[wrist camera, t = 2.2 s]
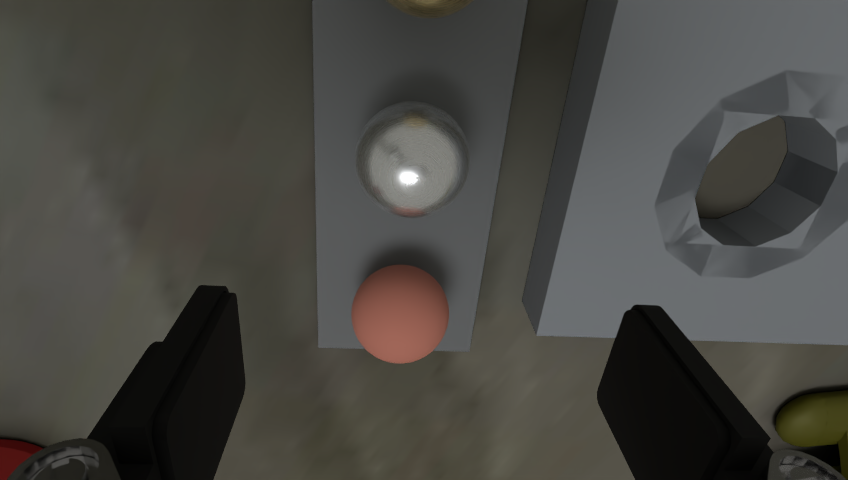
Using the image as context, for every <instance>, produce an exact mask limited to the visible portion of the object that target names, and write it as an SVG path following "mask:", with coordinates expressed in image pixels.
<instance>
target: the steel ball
mask: <svg viewBox="0 0 848 480" xmlns="http://www.w3.org/2000/svg"><path fill="white" fill-rule="evenodd" d="M469 167H470V152H469V147H468V143H467V140H466V137H465V135H464V133H463V131H462V129H461V128H460V126H459V125H458V124H457V122H456V121H455V120H454V119H453V118H452V117H451V116H450V115H449V114H447V113H446V112H445V111H443V110H442V109H440V108H438V107H436V106H434V105H431V104H428V103H424V102H417V101H407V102H400V103H397V104H393V105H391V106H388V107H386V108H385V109H383V110H381V111H379V112H378V113H377V114H376V115H374V116H373V117H372V118H371V119H370V120H369V121H368V123H367V124H366V125H365V127H364V128H363V130H362V132H361V134H360V136H359V139H358V141H357V145H356V149H355V169H356V174H357V177H358V180H359V183H360V185H361V187H362V189H363V191H364V192H365V194H366V195H367V196H368V197H369V198H370V200H371V201H372V202H374V203H375V204H376V205H377V206H378V207H380V208H381V209H382V210H384V211H386V212H388V213H390V214H393V215H396V216H400V217H405V218H420V217H425V216H429V215H432V214H435V213H437V212H439V211H441V210H443V209H444V208H446V207H447V206H448V205H449V204H451V203H452V202H453V201H454V200H455V198H456V197H457V196H458V195H459V193H460V192H461V190H462V189H463V187H464V185H465V183H466V180H467V177H468V173H469Z"/></svg>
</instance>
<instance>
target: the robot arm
mask: <svg viewBox="0 0 848 480" xmlns="http://www.w3.org/2000/svg"><path fill="white" fill-rule="evenodd" d="M244 391H245V373H244V363H243V354H242V344H241V334H240V325H239V315H238V305H237V297H236V294H235V293H229V292H228V289H227V287H226V286H207V285H200V286H199V287H198V288H197V289H196V291H195V292H194V294H193V295H192V297H191V298H190V300H189V302H188V303H187V305H186V306H185V308H184V309H183V311H182V312H181V314H180V316H179V317H178V319H177V320H176V322H175V323H174V325H173V327H172V328H171V330H170V331H169V333H168V334H167V336H166V337H165V339H164V341H163V342H154V343H152V344H151V345H150V346H149V347H148V348H147V350H146V351H145V353H144V354H143V356H142V357H141V359H140V360H139V362H138V363H137V365H136V366H135V368H134V369H133V371H132V372H131V374H130V375H129V377H128V378H127V380H126V381H125V383H124V384H123V386H122V387H121V389H120V390H119V392H118V393H117V394H116V396H115V397H114V399H113V400H112V402H111V403H110V405H109V406H108V408H107V409H106V411H105V412H104V414H103V415H102V417H101V418H100V420H99V421H98V423H97V424H96V426H95V427H94V429H93V430H92V432H91V433H90V435H89V436H88V438H87V439H82V438H78V439H72V440H65V441H62V442H59V443H56V444H53V445H50V446H48V447H46V448H44V449H42V450H40V451H38V452H36V453H35V454H33V455H31V456H30V457H29V458H28V459H26V460H25V461H24V462H22V463H21V464H20V465H19V466H18V467H17V468H16V469H15V470H14V471H13V472H12V474H11V475H10V476H9V477H8V479H7V480H213V479H214V476H215V473H216V470H217V468H218V465H219V462H220V459H221V457H222V454H223V451H224V448H225V446H226V443H227V440H228V437H229V434H230V432H231V429H232V426H233V423H234V421H235V418H236V415H237V412H238V410H239V407H240V404H241V401H242V399H243V395H244ZM597 400H598V404H599V406H600V408H601V410H602V412H603V415H604V417H605V419H606V421H607V423H608V425H609V427H610V429H611V431H612V433H613V435H614V437H615V439H616V441H617V443H618V445H619V447H620V449H621V451H622V453H623V455H624V457H625V459H626V462H627V464H628V466H629V468H630V470H631V472H632V474H633V476H634V478H635V480H846V479H845V478H844V477H843V476H842V475H841V474H840V473H839V472H838V471H836V470H835V469H834V468H832V467H831V466H830V465H828V464H826V463H825V462H823V461H821V460H819V459H818V458H816V457H814V456H811V455H809V454H806V453H803V452H800V451H795V450H790V449H786V450H778V451H777V452H775V453H774V452H773V451H772V450H771V449H770V447H769V446H768V445H767V444H768V442H769V440H770V439H771V438H770V437H769V436H768V435H767V433H766V432H765V431H764V430H763V429H762V427H761V426H760V425H759V424H758V423H757V421H756V420H755V419H754V418H753V417H752V415H751V414H750V413H749V412H748V411H747V409H746V408H745V407H744V406H743V404H742V403H741V402H740V401H739V400H738V398H737V397H736V396H735V395H734V394H733V392H732V391H731V390H730V389H729V388H728V386H727V385H726V384H725V383H724V382H723V380H722V379H721V378H720V377H719V376H718V374H717V373H716V372H715V371H714V370H713V368H712V367H711V366H710V365H709V364H708V362H707V361H706V360H705V359H704V358H703V356H702V355H701V354H700V353H699V352H698V350H697V349H696V348H695V347H694V345H693V344H692V343H691V342H690V341H689V339H688V338H687V337H686V336H685V335H684V333H683V332H682V331H681V330H680V329H679V327H678V326H677V325H676V324H675V323H674V321H673V320H672V319H671V318H670V317H669V315H668V314H667V313H666V312H665V311H664V309H663V308H662V307H660V306H658V305H638V304H636V305H634V306H633V307H632V308H631V310H627V311H626V312H625V313H624V315H623V318H622V321H621V324H620V327H619V329H618V332H617V335H616V338H615V341H614V344H613V347H612V350H611V353H610V356H609V358H608V361H607V364H606V367H605V370H604V373H603V376H602V379H601V382H600V384H599V387H598V391H597Z"/></svg>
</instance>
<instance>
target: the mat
mask: <svg viewBox="0 0 848 480" xmlns="http://www.w3.org/2000/svg"><path fill="white" fill-rule="evenodd" d="M527 3H528V0H474V1H472V2H471V3H470V4H469V5H467V6H466V7H465V8H463V9H461V10H460V11H458V12H456V13H453V14H451V15H448V16H445V17H440V18H419V17H414V16H411V15H408V14H405V13H403V12H401V11H399V10H398V9H396V8H394V7H393V6H391V5H390V4H389V3H388V2H387V1H386V0H312V22H313V78H314V134H315V189H316V245H317V301H318V348H354V349H365V348H364V347H363V345H362V344H361V343H360V342H359V340H358V338H357V336H356V334H355V332H354V329H353V324H352V318H351V311H352V304H353V300H354V297H355V295H356V292H357V290H358V289H359V287H360V285H361V284H362V283H363V282H364V281H365V280H366V278H368V277H369V276H370V275H371V274H373V273H374V272H376V271H378V270H379V269H381V268H384V267H387V266H391V265H410V266H414V267H417V268H419V269H422V270H424V271H425V272H427V273H429V274H430V275H431V276H432V277H433V278H434V279H435V280H436V281H437V282H438V283H439V284H440V286H441V287H442V289H443V291H444V293H445V295H446V298H447V301H448V306H449V321H448V326H447V329H446V332H445V335H444V337H443V338H442V340H441V342H440V343H439V344H438V346H437V347H436V348H435V349H434V350H433V351H463V352H469V350H470V344H471V338H472V332H473V326H474V320H475V314H476V308H477V302H478V296H479V290H480V284H481V278H482V273H483V267H484V261H485V255H486V249H487V243H488V237H489V231H490V225H491V219H492V213H493V207H494V201H495V195H496V189H497V183H498V177H499V171H500V165H501V159H502V153H503V147H504V141H505V135H506V129H507V123H508V117H509V111H510V105H511V99H512V93H513V87H514V81H515V75H516V69H517V63H518V57H519V51H520V45H521V39H522V33H523V27H524V21H525V15H526V9H527ZM407 101H417V102H424V103H428V104H431V105H434V106H436V107H438V108H440V109H442V110H443V111H445V112H446V113H447V114H449V115H450V116H451V117H452V118H453V119H454V120H455V121H456V122H457V124H458V125H459V126H460V128H461V129H462V131H463V133H464V135H465V137H466V140H467V143H468V147H469V152H470V167H469V173H468V177H467V180H466V183H465V185H464V187H463V189H462V190H461V192H460V193H459V195H458V196H457V197H456V198H455V200H454V201H453V202H452V203H451V204H449V205H448V206H447V207H446V208H444V209H443V210H441V211H439V212H437V213H435V214H432V215H429V216H425V217H420V218H405V217H400V216H396V215H393V214H390V213H388V212H386V211H384V210H382V209H381V208H380V207H378V206H377V205H376V204H375V203H374V202H372V201H371V200H370V198H369V197H368V196H367V195H366V194H365V192H364V191H363V189H362V187H361V185H360V183H359V180H358V177H357V174H356V169H355V149H356V145H357V141H358V139H359V136H360V134H361V132H362V130H363V128H364V127H365V125H366V124H367V123H368V121H369V120H370V119H371V118H372V117H373V116H374V115H376V114H377V113H378V112H379V111H381V110H383V109H385V108H386V107H388V106H391V105H393V104H397V103H400V102H407Z"/></svg>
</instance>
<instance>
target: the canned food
mask: <svg viewBox="0 0 848 480" xmlns="http://www.w3.org/2000/svg"><path fill="white" fill-rule="evenodd" d="M42 449H44V448H42V447H39V446H36V445H34V444H30V443H27V442H23V441H17V440H7V439H0V480H7V479H8V477H9V476H10V475H11V474H12V472H13V471H14V470H15V469H16V468H17V467H18V466H19V465H20V464H21V463H22V462H24V461H25V460H26V459H28V458H29V457H30V456H31V455H33V454H35V453H36V452H38V451H40V450H42Z"/></svg>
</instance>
